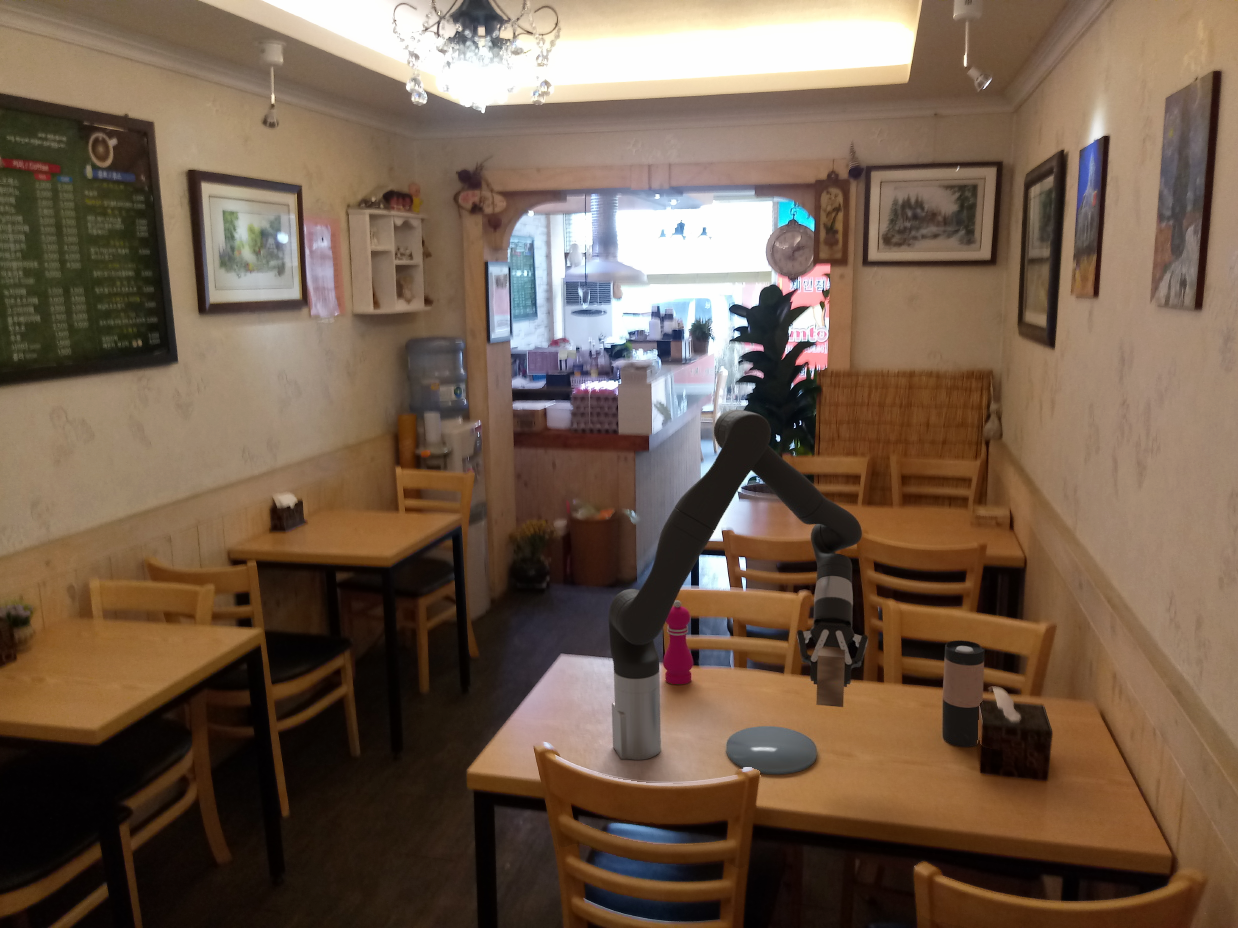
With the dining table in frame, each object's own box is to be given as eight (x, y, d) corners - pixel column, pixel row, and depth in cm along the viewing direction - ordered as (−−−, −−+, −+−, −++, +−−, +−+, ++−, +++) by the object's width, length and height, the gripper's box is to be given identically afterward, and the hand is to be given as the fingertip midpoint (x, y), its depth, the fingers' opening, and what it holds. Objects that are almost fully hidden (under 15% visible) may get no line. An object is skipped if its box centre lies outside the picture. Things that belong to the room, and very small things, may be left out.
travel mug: (934, 739, 191) (938, 647, 188) (950, 726, 197) (954, 637, 193) (971, 751, 186) (975, 656, 183) (986, 737, 192) (991, 645, 188)
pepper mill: (691, 686, 220) (690, 606, 217) (661, 684, 222) (659, 604, 218) (695, 674, 227) (694, 596, 224) (665, 672, 229) (664, 595, 225)
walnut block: (816, 704, 178) (817, 655, 177) (817, 693, 183) (818, 645, 181) (843, 707, 177) (844, 657, 175) (843, 696, 182) (845, 647, 180)
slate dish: (749, 780, 177) (749, 775, 177) (712, 739, 194) (712, 733, 194) (833, 765, 182) (833, 759, 182) (790, 725, 199) (790, 720, 199)
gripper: (796, 593, 186) (791, 673, 176) (871, 597, 182) (870, 679, 173) (797, 609, 192) (792, 688, 182) (869, 614, 188) (868, 694, 179)
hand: (830, 683), depth 178 cm, fingers closed on walnut block, 5 cm apart
